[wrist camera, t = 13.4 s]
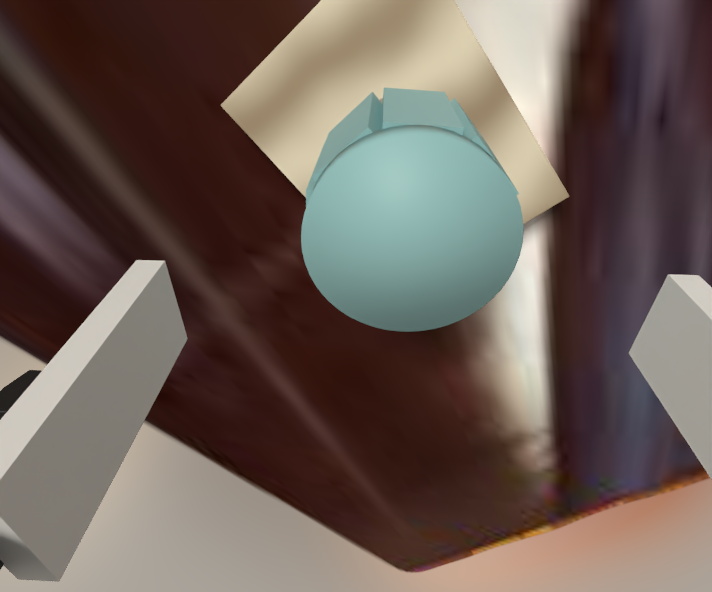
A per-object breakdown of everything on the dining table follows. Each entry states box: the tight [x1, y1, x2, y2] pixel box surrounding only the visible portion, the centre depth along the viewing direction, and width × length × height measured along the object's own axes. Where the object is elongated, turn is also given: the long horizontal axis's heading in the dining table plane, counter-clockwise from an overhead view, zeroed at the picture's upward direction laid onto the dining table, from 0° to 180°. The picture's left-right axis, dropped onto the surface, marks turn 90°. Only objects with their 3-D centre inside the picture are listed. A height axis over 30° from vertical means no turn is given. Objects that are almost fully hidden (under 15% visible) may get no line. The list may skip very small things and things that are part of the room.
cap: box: [301, 88, 524, 332], centre depth 18 cm, size 8×8×7 cm
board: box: [221, 0, 569, 224], centre depth 25 cm, size 16×12×2 cm
